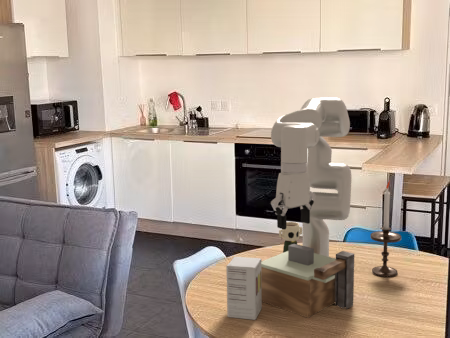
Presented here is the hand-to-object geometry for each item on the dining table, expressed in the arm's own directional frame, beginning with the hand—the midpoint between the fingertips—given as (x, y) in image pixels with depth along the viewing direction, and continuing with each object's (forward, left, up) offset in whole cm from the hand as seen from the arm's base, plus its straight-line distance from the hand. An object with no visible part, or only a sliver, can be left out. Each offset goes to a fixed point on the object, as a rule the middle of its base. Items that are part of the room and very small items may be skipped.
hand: (293, 225), depth 165 cm
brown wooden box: (-15, -5, -30) cm, 34 cm away
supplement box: (+5, -15, -30) cm, 34 cm away
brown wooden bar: (-14, +5, -17) cm, 22 cm away
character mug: (-49, -38, -30) cm, 69 cm away
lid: (-15, -6, -18) cm, 24 cm away
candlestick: (-55, +1, -30) cm, 63 cm away
